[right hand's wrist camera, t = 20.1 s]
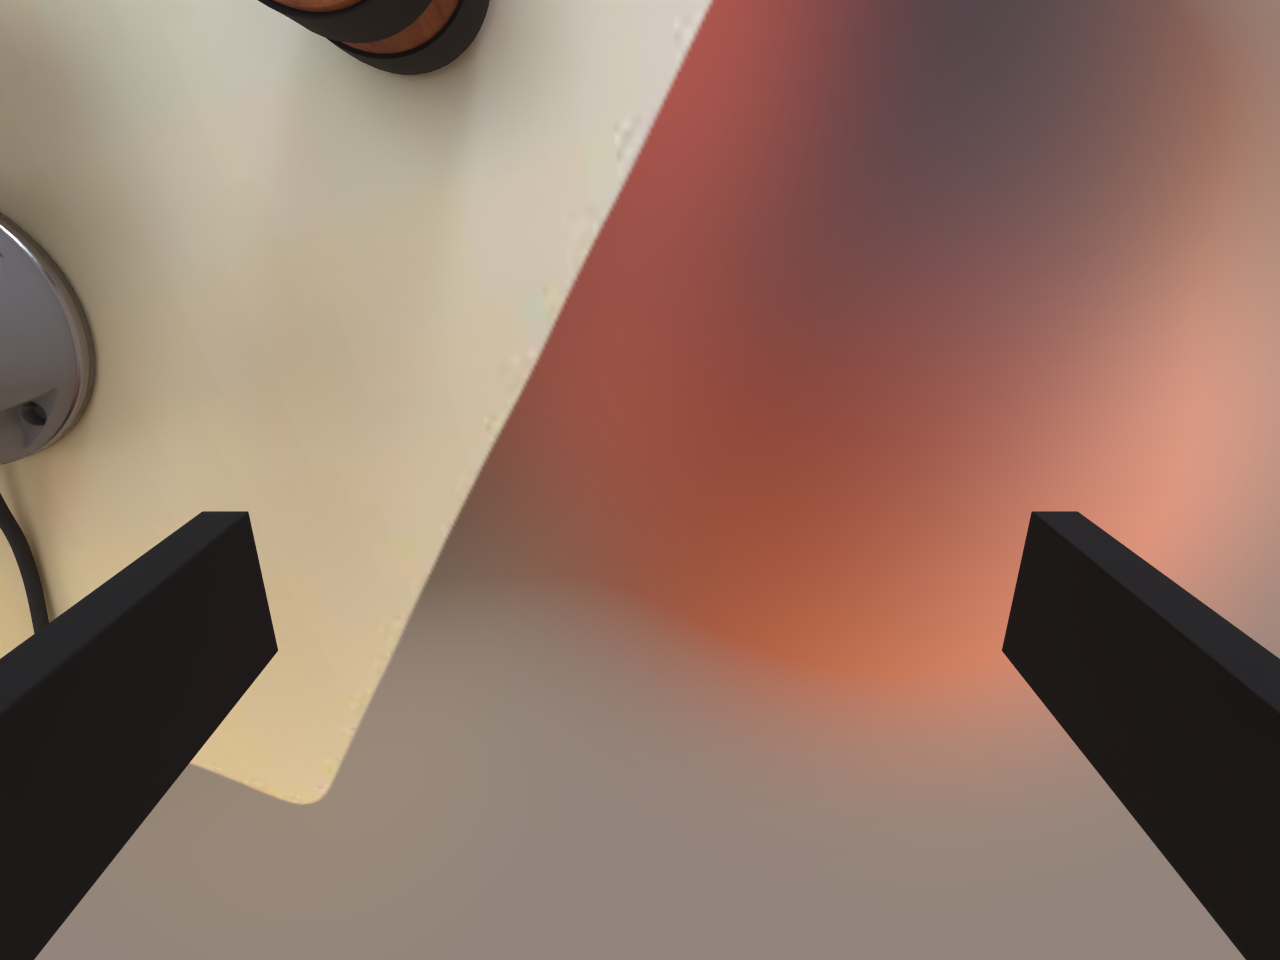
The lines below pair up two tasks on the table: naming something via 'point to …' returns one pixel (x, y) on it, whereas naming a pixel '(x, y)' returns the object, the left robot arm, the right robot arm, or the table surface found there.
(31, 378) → the right robot arm
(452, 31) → the mug
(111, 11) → the table surface
